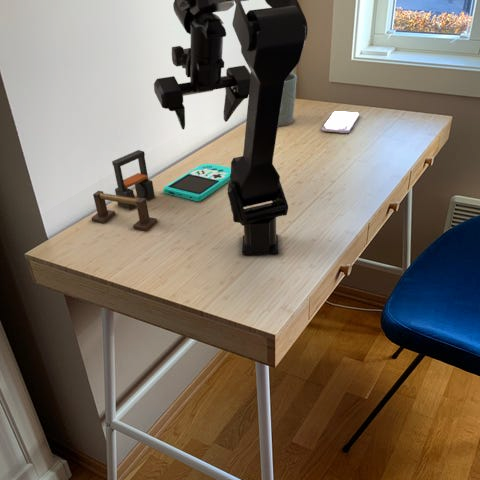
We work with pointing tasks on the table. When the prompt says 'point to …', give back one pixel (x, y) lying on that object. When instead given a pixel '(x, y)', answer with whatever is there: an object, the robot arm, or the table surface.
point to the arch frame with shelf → (133, 179)
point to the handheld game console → (199, 182)
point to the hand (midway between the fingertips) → (204, 124)
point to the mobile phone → (340, 122)
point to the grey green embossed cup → (288, 100)
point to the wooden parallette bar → (105, 215)
